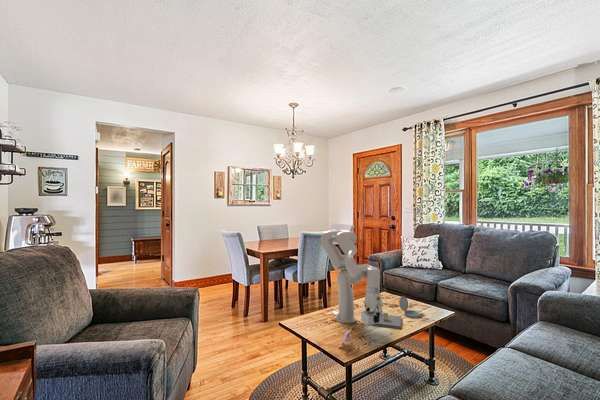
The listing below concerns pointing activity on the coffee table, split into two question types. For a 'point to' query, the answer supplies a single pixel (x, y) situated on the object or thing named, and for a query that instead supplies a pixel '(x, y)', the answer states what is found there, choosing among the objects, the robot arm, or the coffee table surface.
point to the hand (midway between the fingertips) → (372, 319)
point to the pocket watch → (404, 307)
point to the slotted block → (371, 317)
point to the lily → (346, 337)
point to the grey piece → (390, 321)
